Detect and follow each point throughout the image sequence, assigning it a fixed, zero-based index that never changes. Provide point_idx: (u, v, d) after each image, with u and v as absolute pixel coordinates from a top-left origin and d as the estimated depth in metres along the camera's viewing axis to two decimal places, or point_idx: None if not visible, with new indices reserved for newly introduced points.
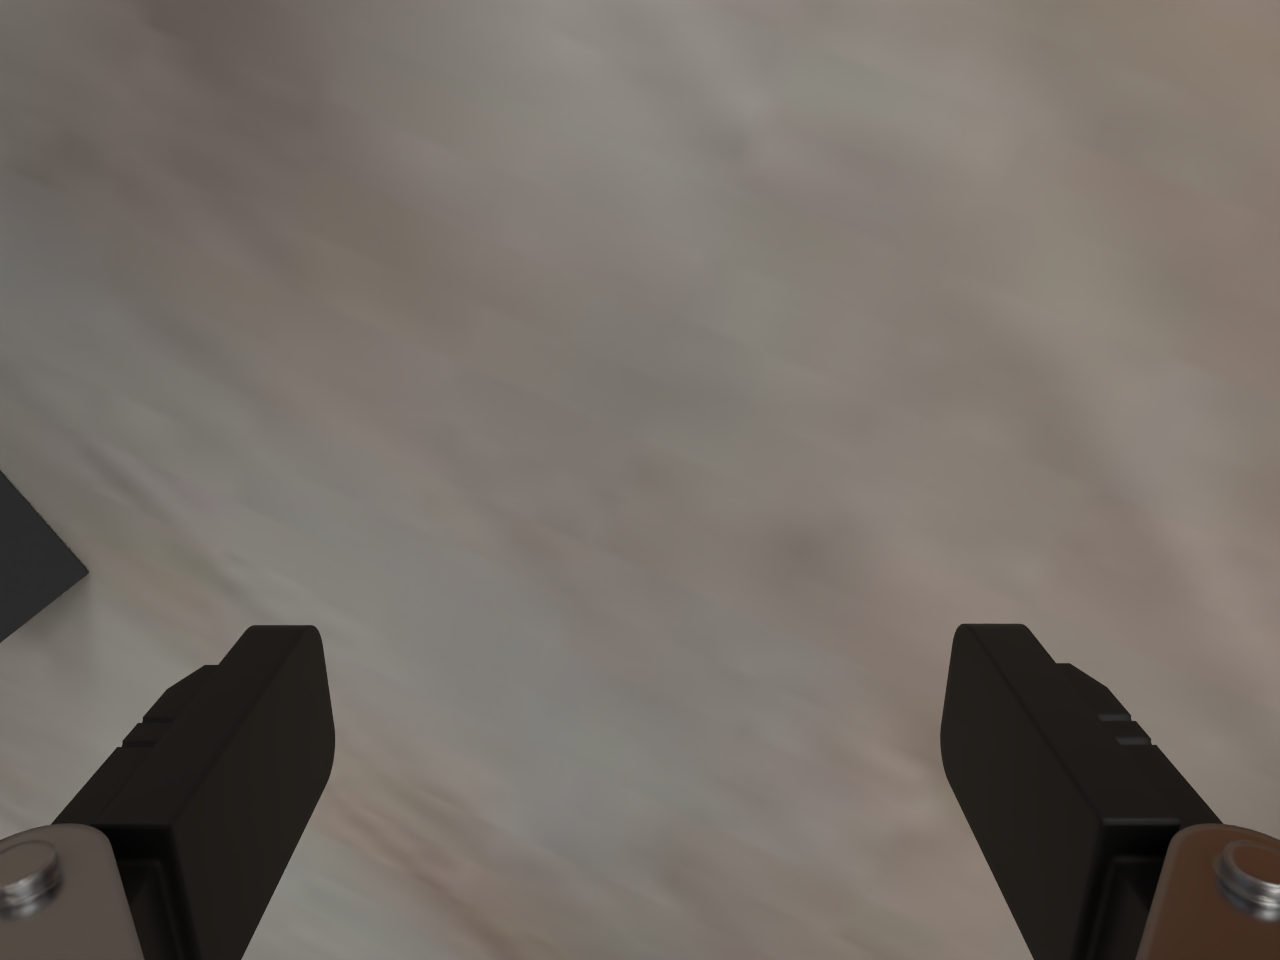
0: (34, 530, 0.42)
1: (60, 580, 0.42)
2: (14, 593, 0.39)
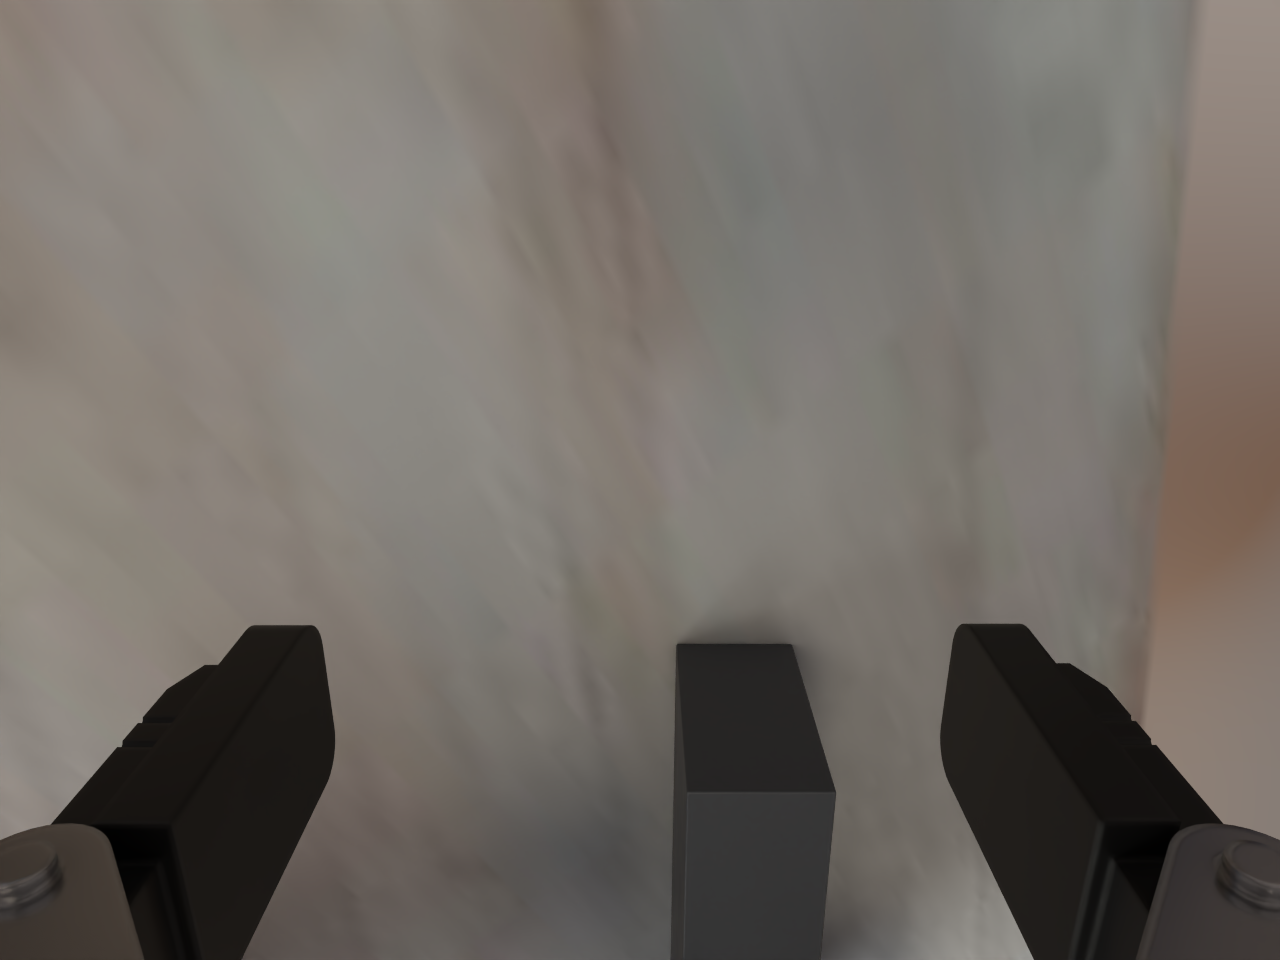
0: None
1: (677, 671, 0.45)
2: None
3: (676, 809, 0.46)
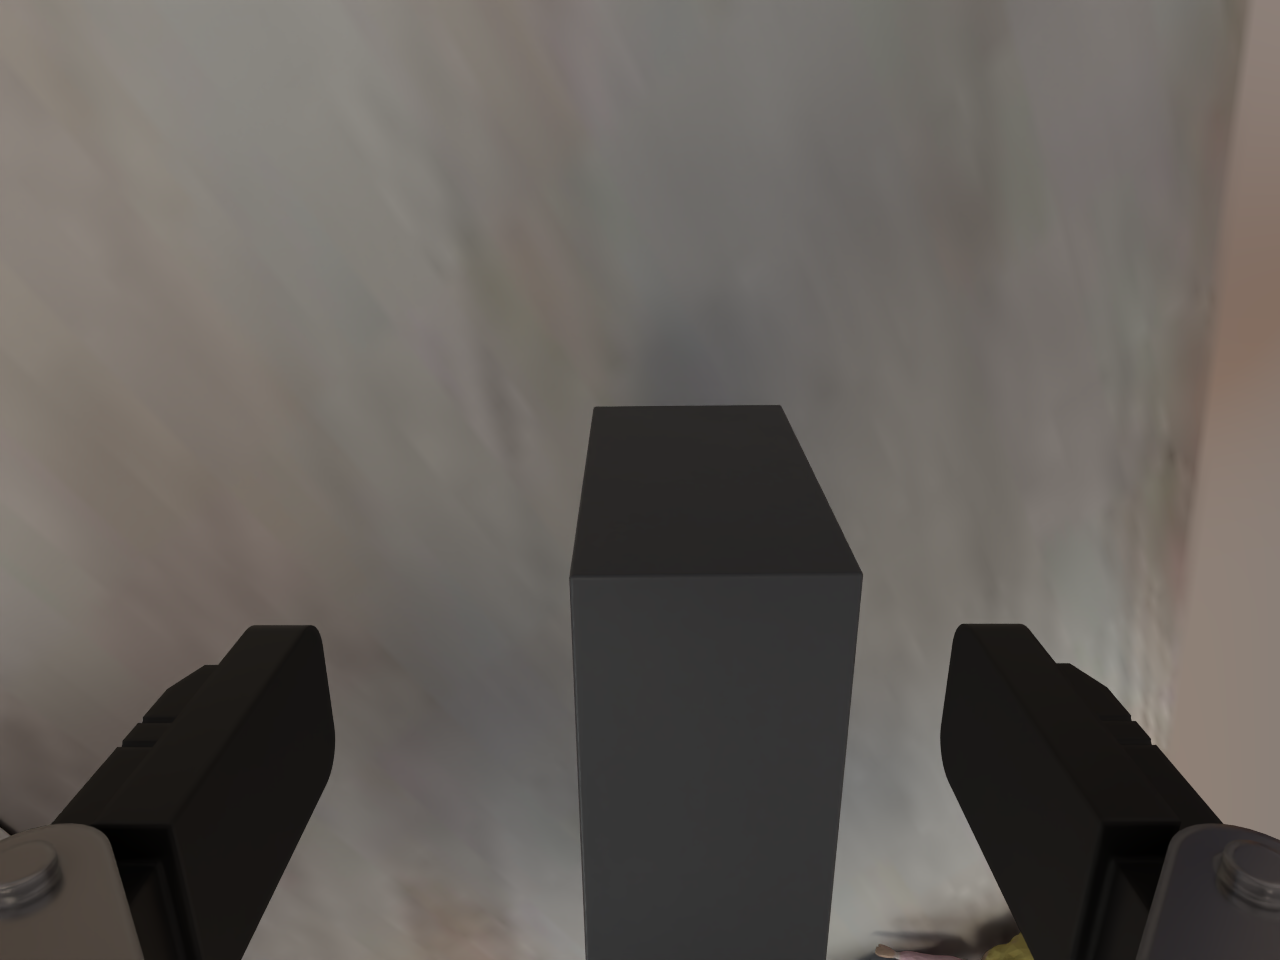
0: None
1: None
2: None
3: None
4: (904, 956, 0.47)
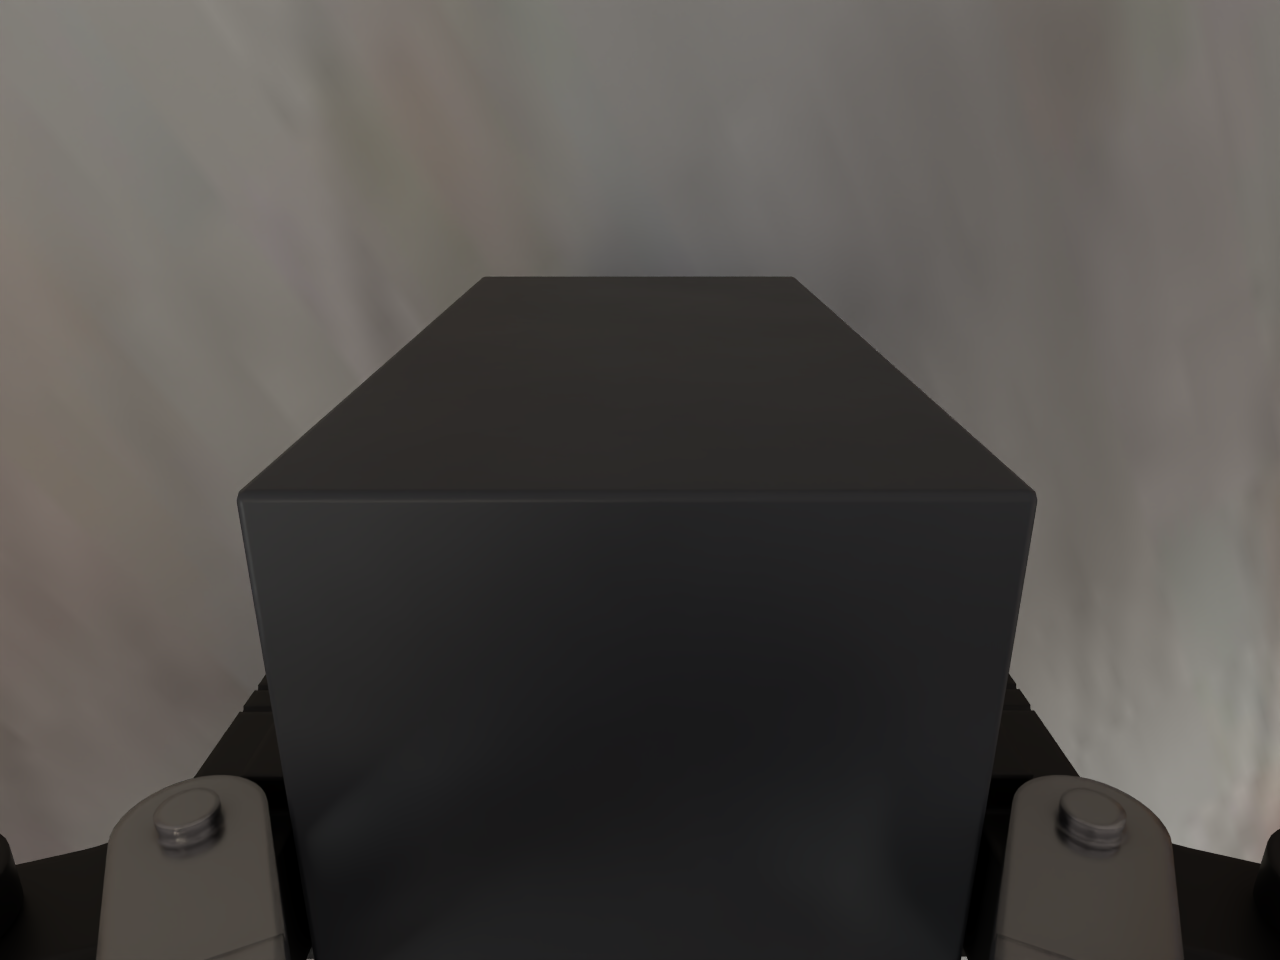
0: None
1: None
2: None
3: None
4: None
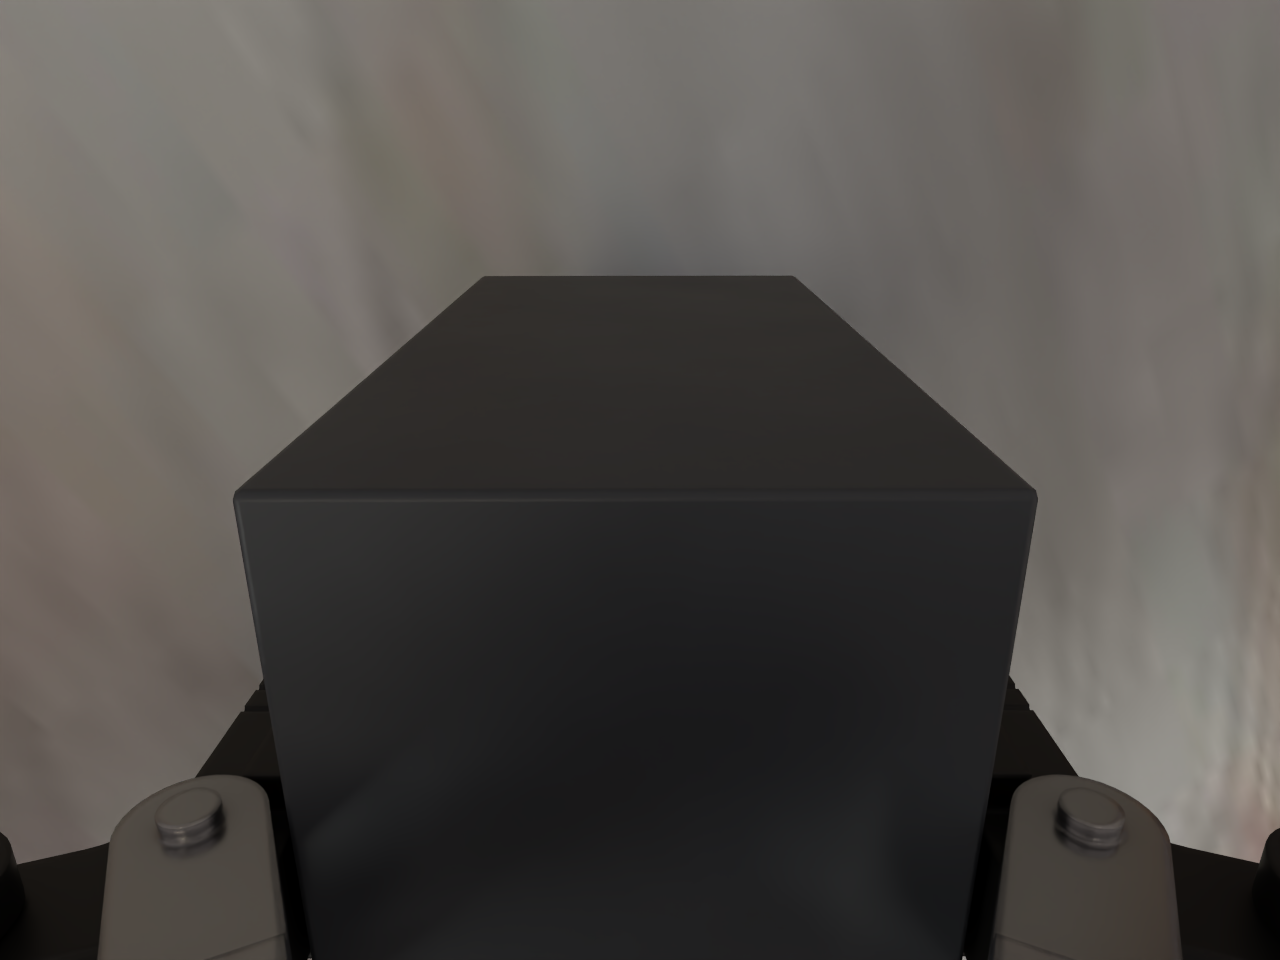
0: None
1: None
2: None
3: None
4: None
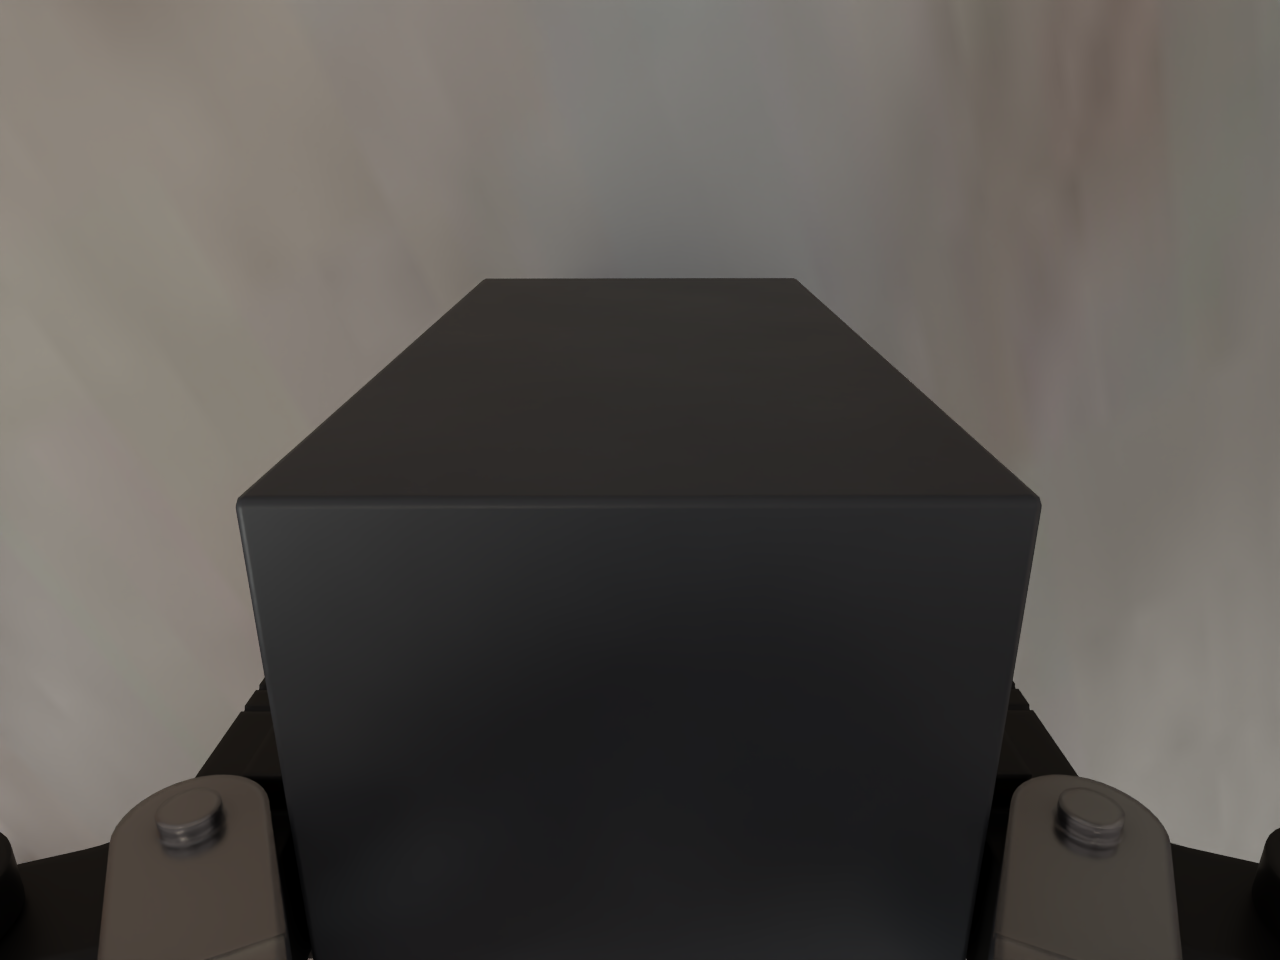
0: None
1: None
2: None
3: None
4: None
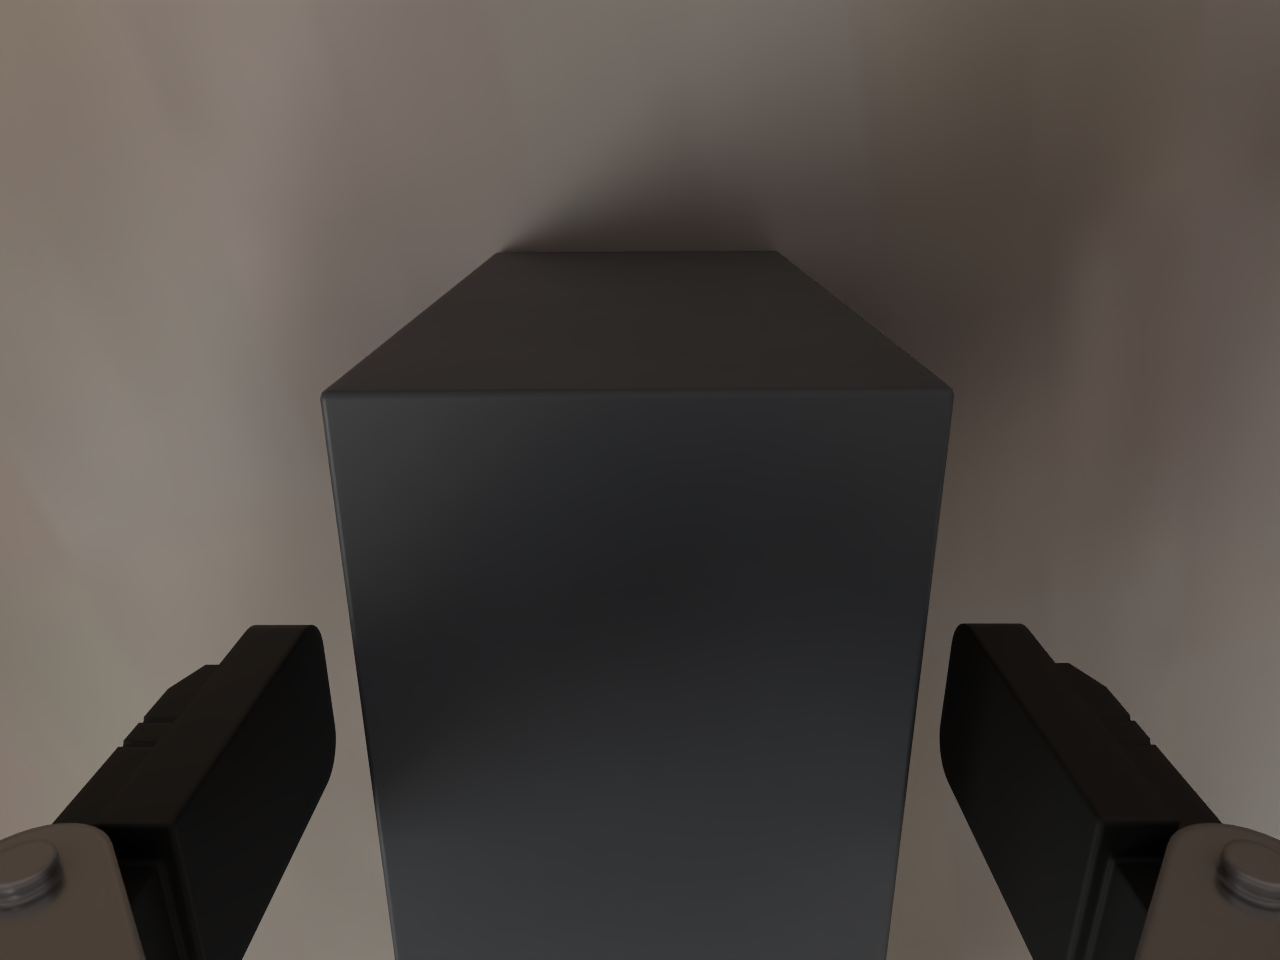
0: None
1: None
2: None
3: None
4: None
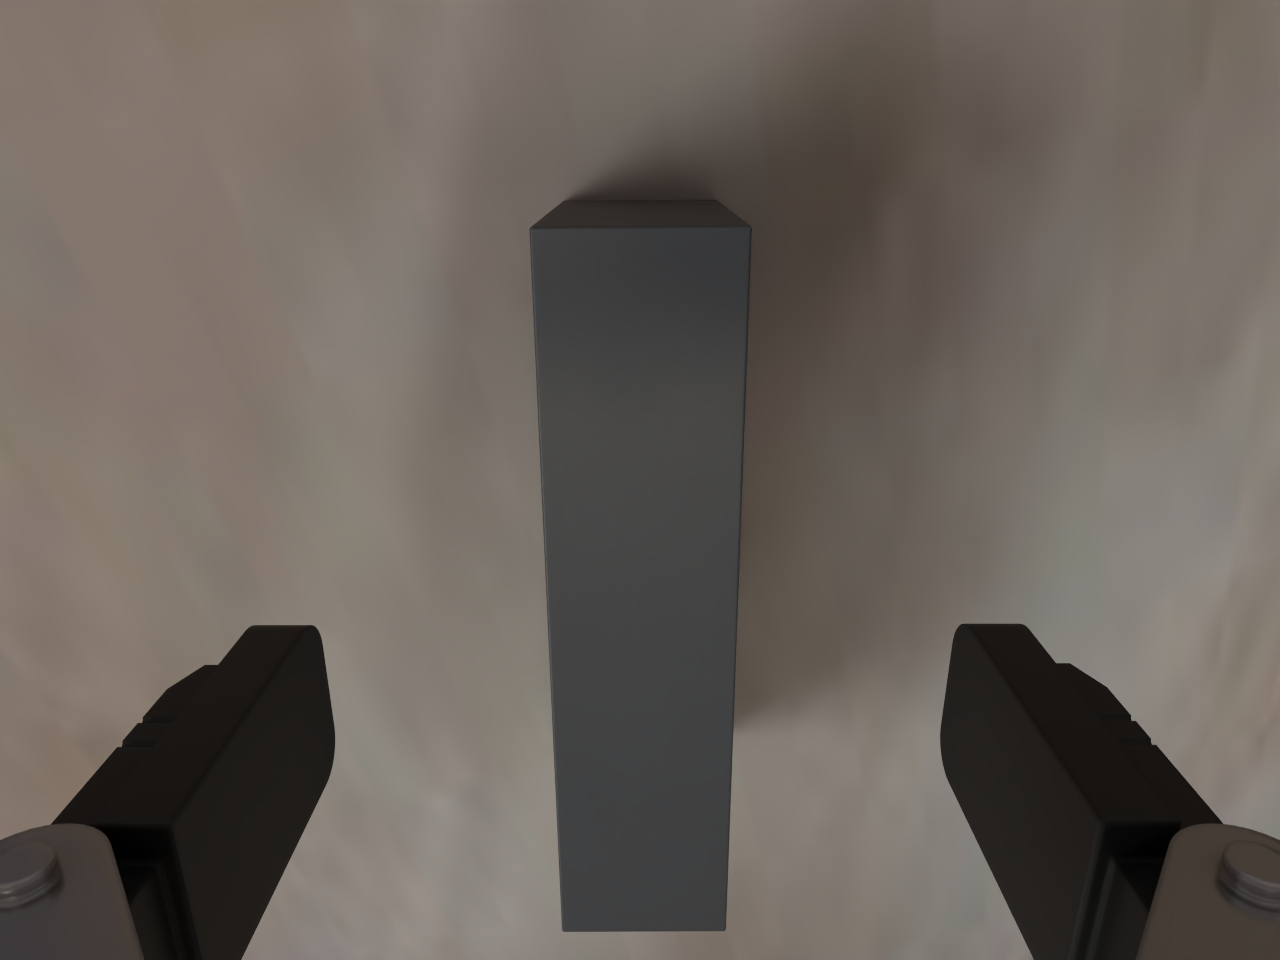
0: None
1: None
2: None
3: None
4: None
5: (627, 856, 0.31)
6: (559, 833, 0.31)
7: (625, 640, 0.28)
